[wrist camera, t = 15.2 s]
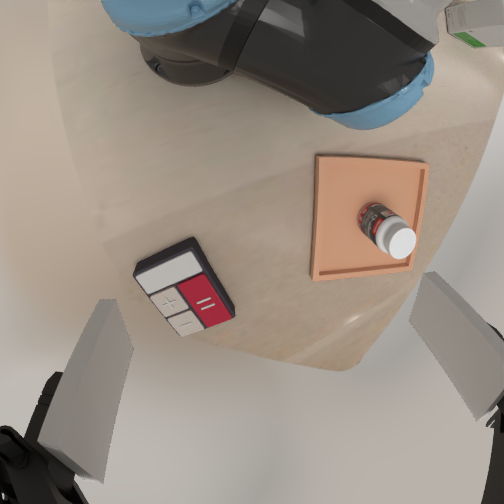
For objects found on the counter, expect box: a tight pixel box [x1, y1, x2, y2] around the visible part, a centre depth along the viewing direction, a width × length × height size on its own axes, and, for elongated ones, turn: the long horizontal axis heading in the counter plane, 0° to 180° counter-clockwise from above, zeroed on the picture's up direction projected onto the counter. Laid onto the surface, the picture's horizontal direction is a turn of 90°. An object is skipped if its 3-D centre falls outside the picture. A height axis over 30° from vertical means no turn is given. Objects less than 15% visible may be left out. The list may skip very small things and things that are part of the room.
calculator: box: [133, 237, 235, 337], centre depth 46 cm, size 11×4×15 cm
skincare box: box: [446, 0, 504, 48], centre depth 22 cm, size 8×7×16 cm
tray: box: [309, 155, 430, 281], centre depth 44 cm, size 20×20×2 cm
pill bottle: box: [358, 202, 416, 259], centre depth 39 cm, size 6×6×10 cm
